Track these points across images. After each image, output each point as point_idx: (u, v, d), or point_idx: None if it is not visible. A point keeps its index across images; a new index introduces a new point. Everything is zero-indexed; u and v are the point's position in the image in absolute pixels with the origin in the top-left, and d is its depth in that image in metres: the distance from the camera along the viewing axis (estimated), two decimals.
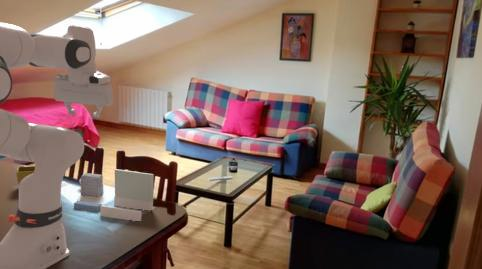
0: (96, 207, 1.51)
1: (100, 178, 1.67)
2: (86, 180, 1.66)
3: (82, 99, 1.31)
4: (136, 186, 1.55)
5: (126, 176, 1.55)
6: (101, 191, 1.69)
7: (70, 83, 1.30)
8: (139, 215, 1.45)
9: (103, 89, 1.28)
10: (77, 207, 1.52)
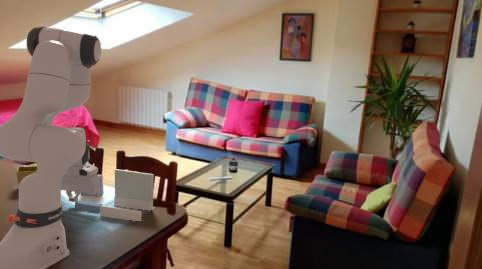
0: (97, 207, 1.51)
1: (100, 178, 1.67)
2: None
3: (72, 187, 1.51)
4: (136, 186, 1.55)
5: (126, 176, 1.55)
6: (101, 191, 1.69)
7: None
8: (139, 215, 1.45)
9: (91, 180, 1.48)
10: (78, 207, 1.52)
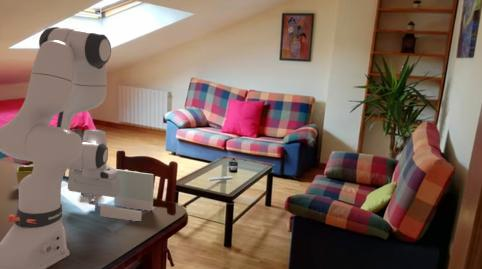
0: None
1: None
2: None
3: (93, 190, 1.50)
4: (136, 186, 1.55)
5: (126, 176, 1.55)
6: None
7: (83, 176, 1.49)
8: (139, 215, 1.45)
9: (112, 183, 1.47)
10: (98, 209, 1.51)
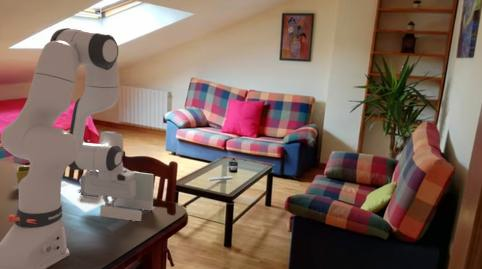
0: None
1: None
2: None
3: (109, 193, 1.49)
4: (136, 186, 1.55)
5: None
6: None
7: (99, 179, 1.48)
8: (139, 215, 1.45)
9: (129, 185, 1.46)
10: None
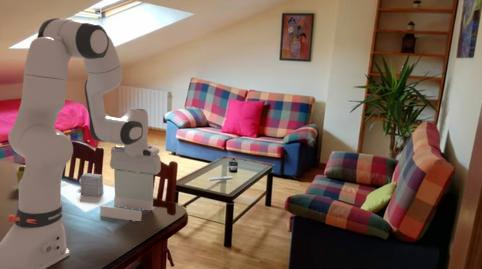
0: None
1: (100, 178, 1.67)
2: (86, 180, 1.66)
3: (135, 168, 1.53)
4: (136, 186, 1.55)
5: (126, 176, 1.54)
6: (101, 191, 1.69)
7: (125, 154, 1.53)
8: (139, 215, 1.45)
9: (154, 160, 1.51)
10: None
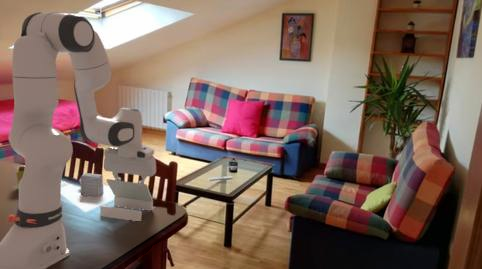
0: None
1: (100, 178, 1.67)
2: (86, 180, 1.66)
3: (129, 170, 1.48)
4: (132, 192, 1.52)
5: (120, 185, 1.50)
6: (101, 191, 1.69)
7: (119, 156, 1.47)
8: (139, 215, 1.45)
9: (149, 162, 1.45)
10: None
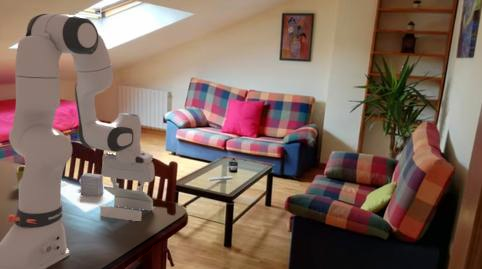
0: None
1: (100, 178, 1.67)
2: (86, 180, 1.66)
3: (127, 175, 1.47)
4: (131, 195, 1.51)
5: (118, 191, 1.49)
6: (101, 191, 1.69)
7: (117, 161, 1.46)
8: (139, 215, 1.45)
9: (147, 168, 1.44)
10: None
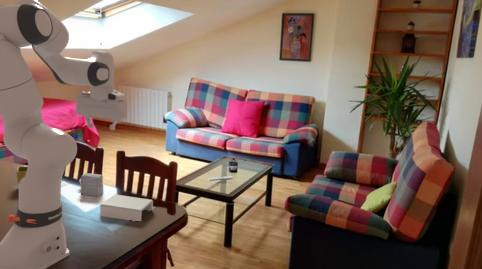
0: None
1: (100, 178, 1.67)
2: (86, 180, 1.66)
3: (100, 113, 1.52)
4: None
5: None
6: (101, 191, 1.69)
7: (91, 99, 1.51)
8: (139, 215, 1.45)
9: (119, 105, 1.49)
10: None
